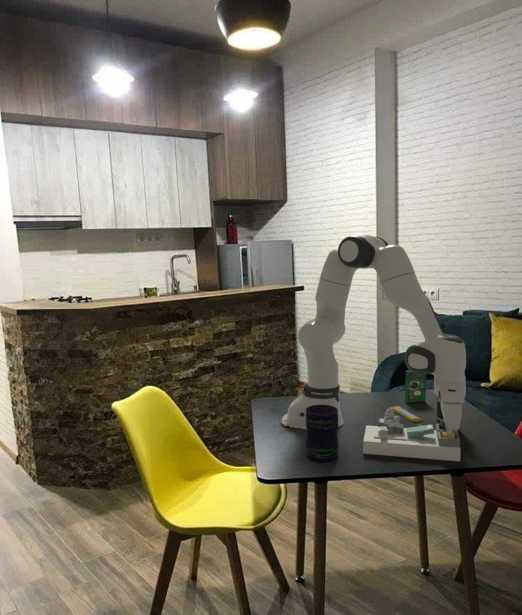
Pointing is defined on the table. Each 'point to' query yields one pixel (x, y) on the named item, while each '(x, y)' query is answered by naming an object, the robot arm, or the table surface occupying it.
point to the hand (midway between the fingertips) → (449, 433)
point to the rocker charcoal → (396, 426)
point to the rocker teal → (414, 430)
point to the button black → (442, 424)
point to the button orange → (448, 435)
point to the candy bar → (406, 414)
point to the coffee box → (415, 387)
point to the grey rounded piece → (391, 415)
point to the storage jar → (322, 433)
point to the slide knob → (383, 432)
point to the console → (412, 444)
